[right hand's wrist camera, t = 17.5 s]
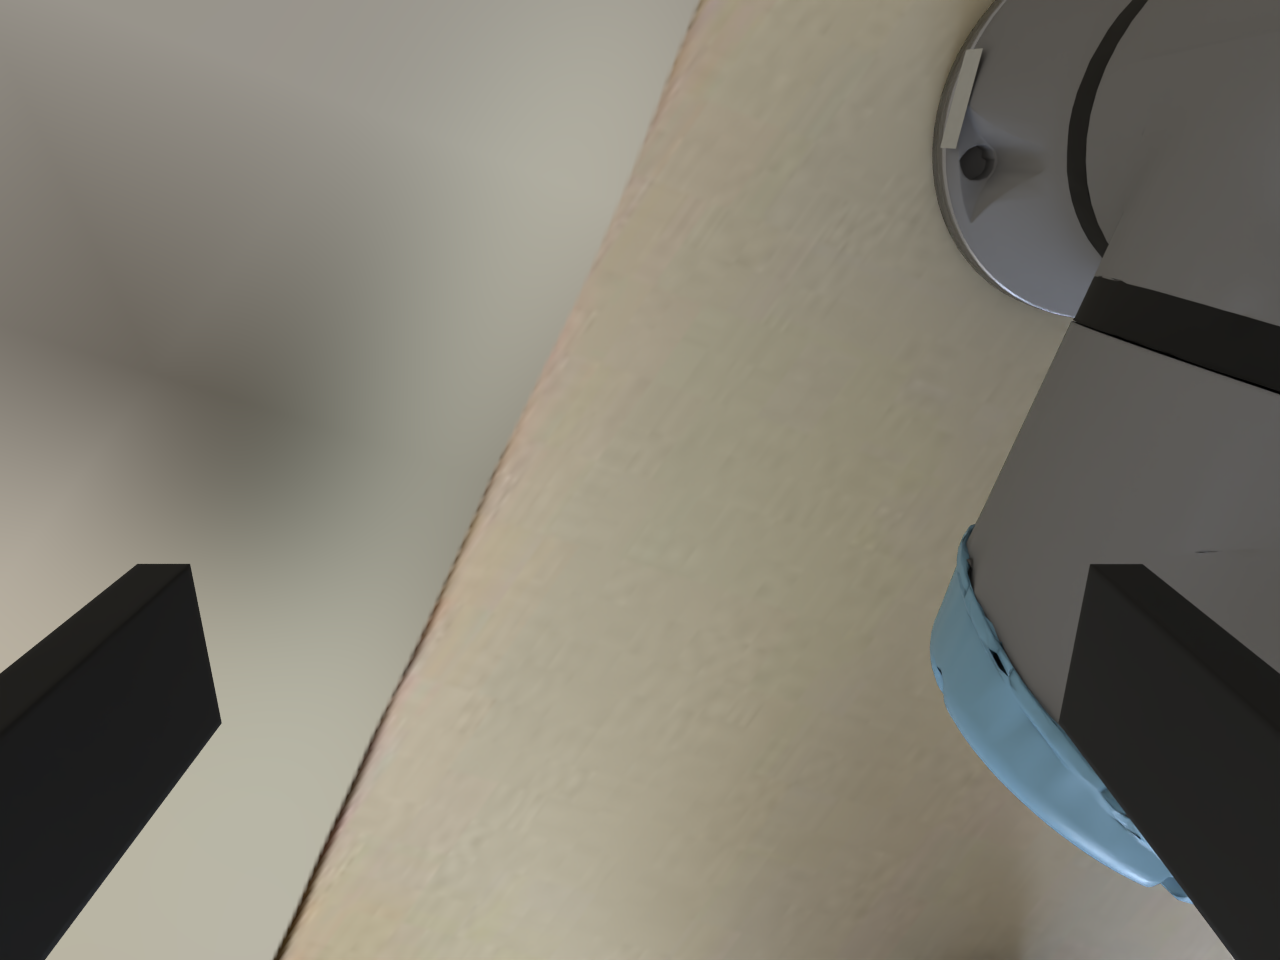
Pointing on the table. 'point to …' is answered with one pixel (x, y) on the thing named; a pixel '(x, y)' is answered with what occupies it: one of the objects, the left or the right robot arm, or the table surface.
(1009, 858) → the table surface
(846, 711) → the table surface
